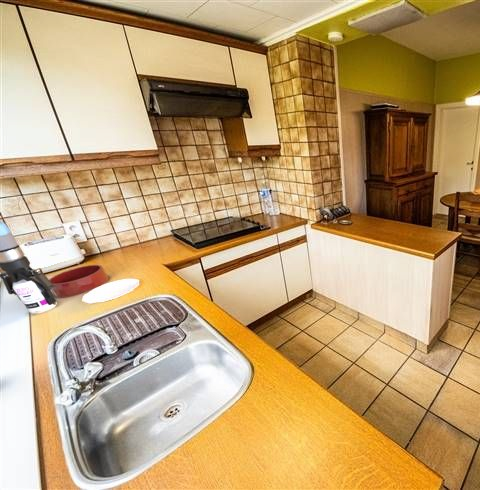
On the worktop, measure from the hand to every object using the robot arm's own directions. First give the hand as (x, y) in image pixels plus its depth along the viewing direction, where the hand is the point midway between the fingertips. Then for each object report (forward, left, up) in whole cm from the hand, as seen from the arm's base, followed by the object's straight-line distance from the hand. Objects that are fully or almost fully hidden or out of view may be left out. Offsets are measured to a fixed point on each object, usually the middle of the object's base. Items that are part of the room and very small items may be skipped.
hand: (41, 304), depth 118 cm
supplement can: (0, 0, -2) cm, 2 cm away
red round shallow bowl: (+1, +19, -2) cm, 19 cm away
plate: (+23, +8, -2) cm, 24 cm away
